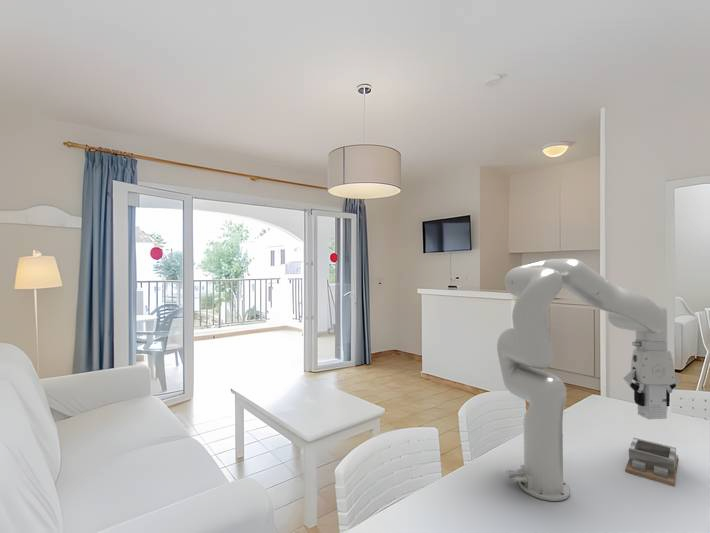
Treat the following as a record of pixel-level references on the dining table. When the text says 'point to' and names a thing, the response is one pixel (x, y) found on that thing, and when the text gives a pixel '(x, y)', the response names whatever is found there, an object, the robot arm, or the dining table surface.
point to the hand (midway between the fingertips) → (651, 404)
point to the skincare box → (654, 402)
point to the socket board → (652, 461)
